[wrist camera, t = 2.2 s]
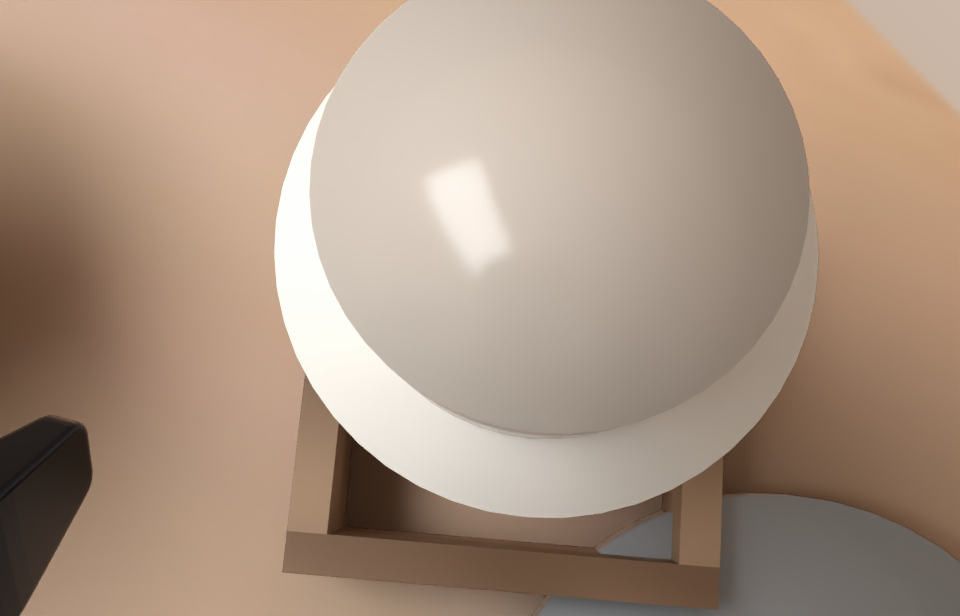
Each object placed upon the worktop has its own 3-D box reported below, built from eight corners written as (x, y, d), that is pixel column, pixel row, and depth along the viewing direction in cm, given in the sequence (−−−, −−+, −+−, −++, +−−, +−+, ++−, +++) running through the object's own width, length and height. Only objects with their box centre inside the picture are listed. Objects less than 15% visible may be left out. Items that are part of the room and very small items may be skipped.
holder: (694, 594, 19) (718, 609, 17) (304, 560, 19) (282, 572, 17) (709, 213, 20) (732, 187, 18) (345, 187, 21) (330, 158, 19)
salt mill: (603, 488, 19) (907, 563, 5) (407, 472, 20) (171, 502, 5) (614, 294, 20) (904, -108, 6) (425, 280, 20) (261, -147, 6)
